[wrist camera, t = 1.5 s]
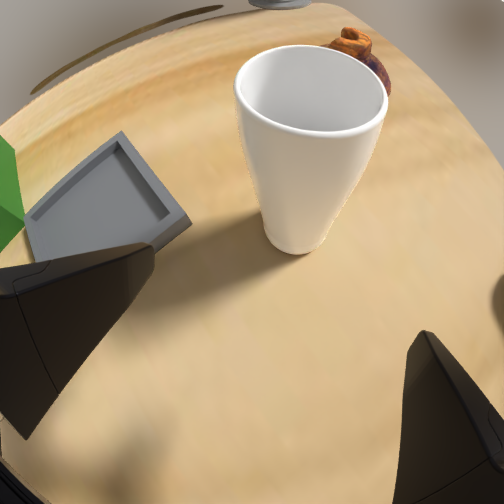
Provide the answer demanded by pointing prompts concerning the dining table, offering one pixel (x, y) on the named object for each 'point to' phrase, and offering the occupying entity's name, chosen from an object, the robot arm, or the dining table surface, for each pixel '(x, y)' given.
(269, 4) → the mate gourd
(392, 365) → the dining table surface
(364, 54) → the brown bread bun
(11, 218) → the hardback book
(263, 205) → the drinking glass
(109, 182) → the serving tray
